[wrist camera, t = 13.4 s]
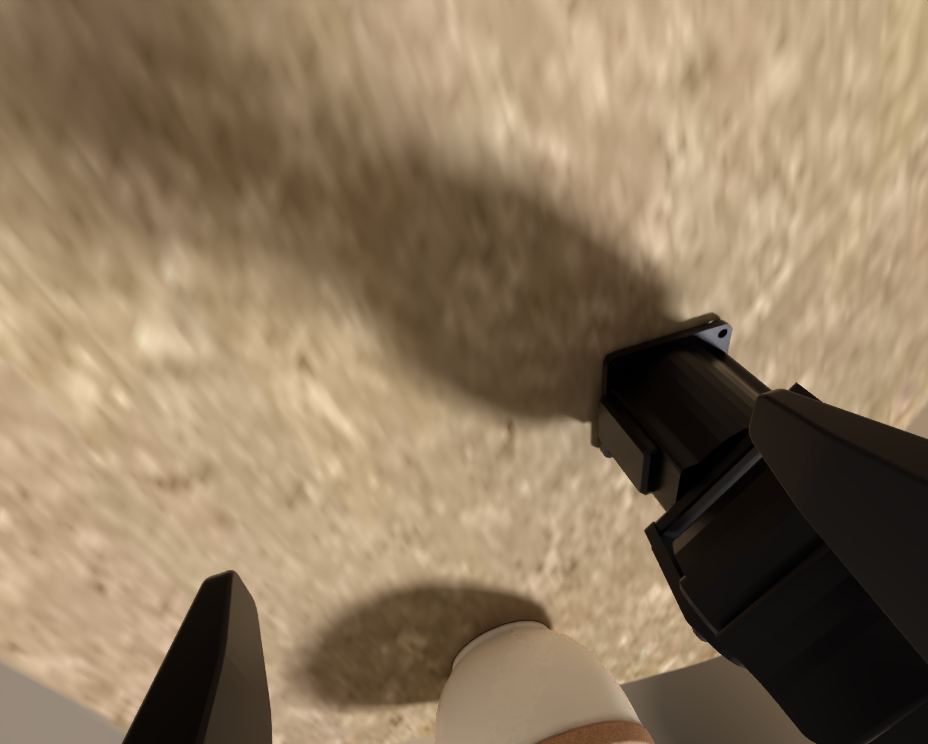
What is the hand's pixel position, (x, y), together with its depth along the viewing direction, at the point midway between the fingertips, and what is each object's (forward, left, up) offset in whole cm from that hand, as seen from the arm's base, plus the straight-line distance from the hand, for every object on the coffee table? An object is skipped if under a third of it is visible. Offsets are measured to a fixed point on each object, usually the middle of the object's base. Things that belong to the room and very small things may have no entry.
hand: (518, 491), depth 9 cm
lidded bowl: (-2, +32, -13) cm, 35 cm away
